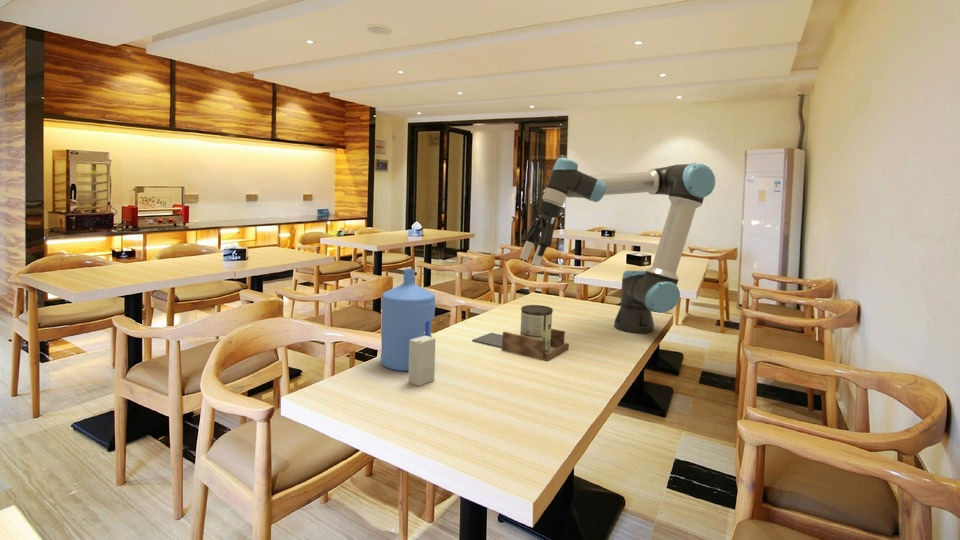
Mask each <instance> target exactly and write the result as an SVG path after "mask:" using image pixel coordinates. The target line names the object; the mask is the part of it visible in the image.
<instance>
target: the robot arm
mask: <svg viewBox="0 0 960 540" xmlns="http://www.w3.org/2000/svg"><path fill="white" fill-rule="evenodd" d="M578 168H579V164H578V163H577V162H575V161H574V160H572V159H569V158H567V157H559V158H558V159H556V161H555V163H554V165H553V168H552V169H551V173H550V176H549V178H548V182H547V184H546V187H545V189H543V195H542V198H541V199H542V200H540V202H539V205H538V206H537V211H538V212H540V213H541V214H536V215H535V218H534V221H533V222H532V224H531V226H530V227H529V230H528V231H527V233H526V235H525V236H524V237H525V238H524V239H525V243H524V245H523V249H522V251H521V254H520V256H519V259H521V260H524V261H528V260H529V256H530V254H531V252H532V249H533V246H534V244H535V240H536V239H537V238H538V236H539V235H540V241H539V242H538V243H537V245H538V246H537V249H536V251H535V253H534V256H533V258H532V261H531V263H530V264H531V265H534V266H537V267H540V266H541V264H542V261H543V258H544V255H545V253H546V250H547V249H548V247H551V245H552V241H553V236H554V235H553V234H554V232H555V231H554V230H555V225H556V222H557V219H558V218H559V216H560V214H561V211H562V207H563V206H564V204H565V202H566V199H567V198H580V199H586V200H588V201H591V202H594V203H597V202H600V201H601V200H602V199H603V197H604V196H608V195H609V196H611V195H613V196H614V195H624V194H625V195H626V194H627V195H629V194H638V193H639V194H641V193H648V194H649V195H652V196H653V195H664V196H668V200H669V202H670V206H669V210H668V213H667V216H666V220H665V223H664V226H663V229H662V233H661V235H660V239H659V242H658V246H657V249H656V253H655V256H654V258H653V262H652V264H651V267H649V268H647V269H646V270H625V271H624V272H623V274H622V279H621V291H620V292H621V293H620V304H619V305H620V306H619V310H618V312H617V314H616V317H615V319H614V323H613V326H614V329H616V330H620V331H623V332H628V333H634V334H635V333H636V334H648V333H653V332H654V331H655V323H654V318H653V313H652V312H656V313H667V312H670V311H671V310H673V309H674V308H675V307H677V305H678V303H679V301H680V298H681V292H680V290H679V287H678V283H679V277H678V275H677V271H678V267H679V264H680V261H681V258H682V255H683V251H684V248H685V245H686V243H687V238H688V236H689V233H690V229H691V226H692V223H693V219H694V216H695V212H696V210H697V209H698V208H700V207H702V206H703V202H704V200H705V198H706V197H708V196H710V194H712V193H713V191H714V189H715V186H716V176H715V174H714V172H713V169H711V168H710V167H709V166H708V165H706V164H703V163H697V162H693V163H684V164H682V163H681V164H673V165H669V166H664V167H658V168H649V170H647V171H643V172H642V171H640V172H626V173H625V172H623V173H609V174H608V173H607V174H591V175H588V174H587V173H584V172H582V171H580V170H579V169H578Z"/></svg>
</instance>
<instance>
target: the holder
mask: <svg viewBox="0 0 960 540" xmlns="http://www.w3.org/2000/svg"><path fill="white" fill-rule="evenodd" d="M502 335H503V339H502V348H501V350H502V351H503V350H504V351H505V352H507V351H508V352H507V353H512V354H517V355H522V356H525V357H529V358H534V359H538V360H542V361H546V362H549V361H550V360H552V359H555V358H556V357H557V356H560V355H562V354H563V353H565V352H566V351H568V350H569V347H570V343H568V342H567V343H566V342H565V339H566V338H565V336H566V331H565V330H560V329H557V328H556V329H555V328H551V343H550V348H554V349H551V350H550V352H548V353H546V354H545V346H546V340H541V339H536V338H532V337H527V336H522V335H520V334H516V333H512V332H507V331H503V332H502Z"/></svg>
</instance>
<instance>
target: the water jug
mask: <svg viewBox="0 0 960 540" xmlns="http://www.w3.org/2000/svg"><path fill="white" fill-rule="evenodd" d="M380 308H381V328H380V336H381V337H380V338H381V340H380V341H381V345H380V346H381V347H380V348H381V349H380V350H381V354H380V363H381V364H382V366H384V367H385V368H386V369H390V370H394V371H398V372H409V340H411V339H414V338H418V337H422V336H429V337H432V338H433V336H432V320H433V319H434V318H435V314H436V313H435V311H436V295H435V293H434V292H432V291H429V290H427V289H425V288H423V287H422V286H419V285H417V284H416V283H415V269H411V268H408V269H407V268H406V269H403V282H402V284H400V285H398V286H395V287H393V288H391V289H389V290H387V291H385V292H383V293H382V295H381V305H380Z"/></svg>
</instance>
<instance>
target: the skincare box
mask: <svg viewBox="0 0 960 540" xmlns="http://www.w3.org/2000/svg"><path fill="white" fill-rule="evenodd" d="M435 364H436V338H435V337H433V336H432V337H429V336H422V337H418V338H414V339H411V340H409V371H408V376H407V377H408V380H407V381H408V383H410V384H412V385H414V386H417V387H419V386H423V385H425V384H428V383H431V382H433V381H435V373H436V371H435V370H436V368H435V366H436V365H435Z"/></svg>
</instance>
